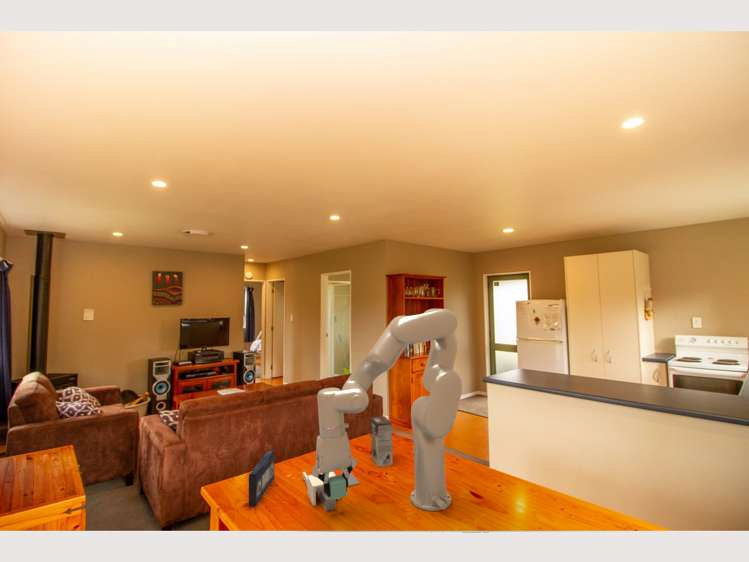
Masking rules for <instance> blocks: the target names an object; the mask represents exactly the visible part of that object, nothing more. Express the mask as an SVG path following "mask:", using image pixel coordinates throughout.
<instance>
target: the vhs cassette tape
mask: <svg viewBox="0 0 749 562" xmlns="http://www.w3.org/2000/svg"><path fill="white" fill-rule="evenodd" d="M274 481H275V450H268V451H267V452H266V453H265V454H264V456H263V457H261V459H260V460H259V462H258V463H257V464H256V465H255V466H254V467H253V469H252V470H251V472H250V473H248V504H247V505H248V507H249V508H250V507H252V508H253V507H254V508H256V507H257V506H258V504H259V503H260V502H261V500H262V499H263V497H264V496H263V495H265V494H266V493H265V492H267V491H268V490H269V488H270V487H269V486H271V485H272V483H273V482H274ZM268 487H269V488H268ZM267 489H268V490H267ZM266 490H267V491H266ZM264 493H265V494H264ZM262 496H263V497H262ZM261 498H262V499H261ZM260 499H261V500H260ZM259 501H260V502H259Z"/></svg>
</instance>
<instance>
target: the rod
mask: <svg viewBox="0 0 749 562" xmlns="http://www.w3.org/2000/svg"><path fill="white" fill-rule="evenodd" d="M316 492H317V493H316V495H317V494H318V495H317V497H318V496H319V497H318V499H319V498H320V499H319V501H320V500H321V501H320V502H321V504H322V506H323V508H324V510H325V512H329V510H330V511H333V509H334V510H336V509H337V501H336V500H337V499H335V500H332V499H331V498H330V497H328V496H327V494H325V493H324V486H321V487H316Z"/></svg>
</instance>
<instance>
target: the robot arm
mask: <svg viewBox="0 0 749 562" xmlns="http://www.w3.org/2000/svg"><path fill="white" fill-rule="evenodd" d="M458 323H459V322H458V317H457V316H456V314H455V313H454V312H453V311H452V310H449V309H446V308H430V309H427V310H425V311H424V312H423V313H420V314H414V315H398V316H396V317H394V318H393V319H392V320H390V322H389V324H388V325H387V327H386V328H385V329H384V331H383V332H382V334H381V335H380V337H379V338H378V340H377V341H376V343H374V346H373V347H372V348H371V349H370V351H369V352H368V353H367V354H366V355H365V357H364V358H363V359H362V360H361V361H360V362H359V364H358V365H357V366H356V367H355V368H354V370H353V371H352V372H351V374H350V375H349V377H348V379H347V380H346V381H345V383H344V384H343V386H342V389H340V388H338V387H327V388H326V387H325V388H322V389H319V391H318V392H317V396H316V397H317V398H316V399H317V410H318V411H317V412H318V413H317V414H318V425H319V426H318V427H319V435H317V437H316V448H315V449H316V450H315V465H313V468H312V470H311V471H310V475H312V476H314V477H316V478H319V479H320V480H321V481H323V484H324V493H325V494H327V496H328V497H330V496H331V495H330V483H329V480H328V478H329V472H336V471H339V470H340V471H341V474H342V476H343V477H344V479H345V480H346V492H347V493H348V488H349V487H348V477H349V474H350V473H352V471H353V469H354V468H355V467H356V466H357V465H358V463H359V462H358V461H357V460H356V459H355V458H354V456H353V455H352V449H351V444H350V440H349V435H348V432H347V431H346V429H348V428H349V427H350V424H349V422H346V423H345V417H344V416H345V415H344V414H359V413H362V412H363V411H365V410H366V409H367V408H368V405H369V400H370V399H369V395H368V393H367V391H368V390H369V388H370V387H371V385H372V384H373V383H374V382H375V380H377V378H378V377H379V376H380V375H382V374H385V373H386V372H389V370H391V369H392V368H393V367H394V365H395V364H396V362H397V361H398V359H399V358H400V356H401V355H402V354H403V352H404V350H405V349H406V347H407V346H408V345H415V344H422V343H425V342H429V341H430V347H429V353H428V356H427V357H428V358H427V361H426V365H425V368H424V372H423V375H422V385H423V387H424V388H425V390H426V391H427V392H429V395H424V396H423V395H422V396H420V397H418V398H416V399H415V400H414V402H413V403H412V406H411V409H410V419H411V426H412V432H413V434H412V435H413V459H414V460H413V462H414V464H413V465H414V490H412V492H411V494H410V502H411V503H412V505H414V506H415V507H416V508H418V509H421V510H424V511H429V512H431V511H434V512H436V511H441V510H442V511H443V510H444V511H445V510H446V509H447V508H448V507H450V505H451V503H452V496H451V494H450V493H449V492H448V490H447V487H446V466H445V465H446V463H445V439H444V438H445V437H446V436H447V435H449V434H450V433H451V431H452V428H453V427H454V424H455V421H456V418H457V417H456V416H457V414H458V410H459V405H460V402H461V397H462V394H463V393H462V392H463V382H462V379H461V377H460V375H459V374H458V373H457V372H456V371H455V370H454V367H455V361H456V356H457V351H458V343H457V342H458V341H457V338H456V335H455V332H456V330H457V328H458ZM319 469H320V472H321V473H322V474H321V473H319Z"/></svg>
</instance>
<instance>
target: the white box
mask: <svg viewBox="0 0 749 562" xmlns="http://www.w3.org/2000/svg"><path fill="white" fill-rule="evenodd" d="M318 472H319V473H321V472H320V469H319V470H318ZM321 474H322V473H321ZM332 476H336V473H335V471H333V472H329V477H332ZM303 478H304V479H303ZM302 479H303V481H304V480H305V481H304V483H305V482H306V483H305V485H306V484H307V485H306V487H307V490H306V491H307V496H308V495H309V496H308V498H309V497H310V498H309V500H310V499H311V500H310V502H311V505H312V506H313V507H315V506H316V505H317V500H316V499H317V498H316V497H317V493H316V487H321V486H324V484H323V481H321V480H320V479H319V478H316V477H314V476H312V474H309V475H307V473H306V471H302ZM339 499H341V498H338V499H336V500H337V501H339ZM314 505H315V506H314Z"/></svg>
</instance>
